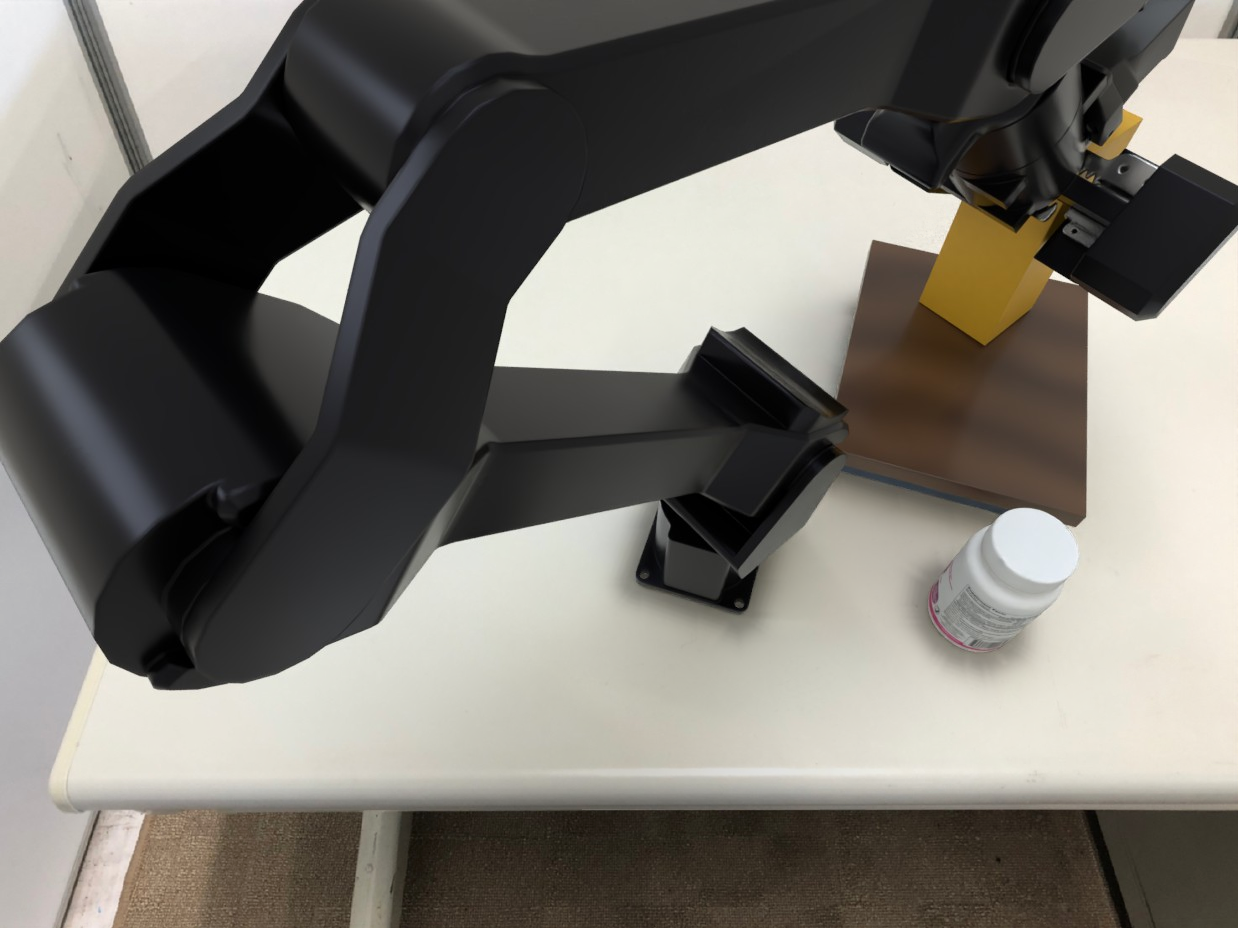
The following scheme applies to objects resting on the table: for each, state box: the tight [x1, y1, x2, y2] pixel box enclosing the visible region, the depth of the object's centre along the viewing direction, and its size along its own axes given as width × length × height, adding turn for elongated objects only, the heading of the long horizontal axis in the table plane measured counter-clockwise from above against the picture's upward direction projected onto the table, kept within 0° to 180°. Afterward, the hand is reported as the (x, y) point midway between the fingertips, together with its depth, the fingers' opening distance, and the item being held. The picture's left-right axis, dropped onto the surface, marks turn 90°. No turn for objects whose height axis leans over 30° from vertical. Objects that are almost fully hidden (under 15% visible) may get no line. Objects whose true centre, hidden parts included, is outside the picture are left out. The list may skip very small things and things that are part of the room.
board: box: [834, 239, 1089, 528], centre depth 50 cm, size 18×14×5 cm
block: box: [919, 108, 1144, 345], centre depth 45 cm, size 5×5×13 cm
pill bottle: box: [927, 508, 1080, 653], centre depth 40 cm, size 5×5×8 cm
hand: (1032, 209), depth 45 cm, fingers closed on block, 5 cm apart
